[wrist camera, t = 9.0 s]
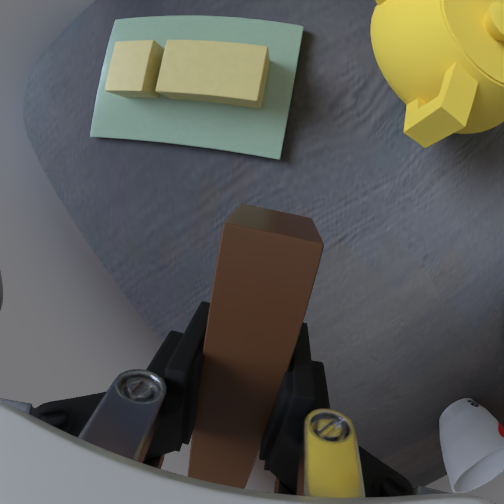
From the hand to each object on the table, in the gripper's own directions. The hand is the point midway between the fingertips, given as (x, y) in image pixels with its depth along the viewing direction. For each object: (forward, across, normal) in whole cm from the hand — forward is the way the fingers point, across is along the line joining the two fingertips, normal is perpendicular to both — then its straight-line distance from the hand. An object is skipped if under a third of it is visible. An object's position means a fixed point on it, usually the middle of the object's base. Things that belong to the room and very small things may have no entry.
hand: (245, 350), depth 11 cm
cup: (+15, -27, +16) cm, 35 cm away
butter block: (+14, +6, -12) cm, 19 cm away
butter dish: (+15, +8, -12) cm, 21 cm away
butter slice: (+14, +12, -12) cm, 22 cm away
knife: (0, 0, +5) cm, 5 cm away
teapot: (+15, -10, -18) cm, 26 cm away
